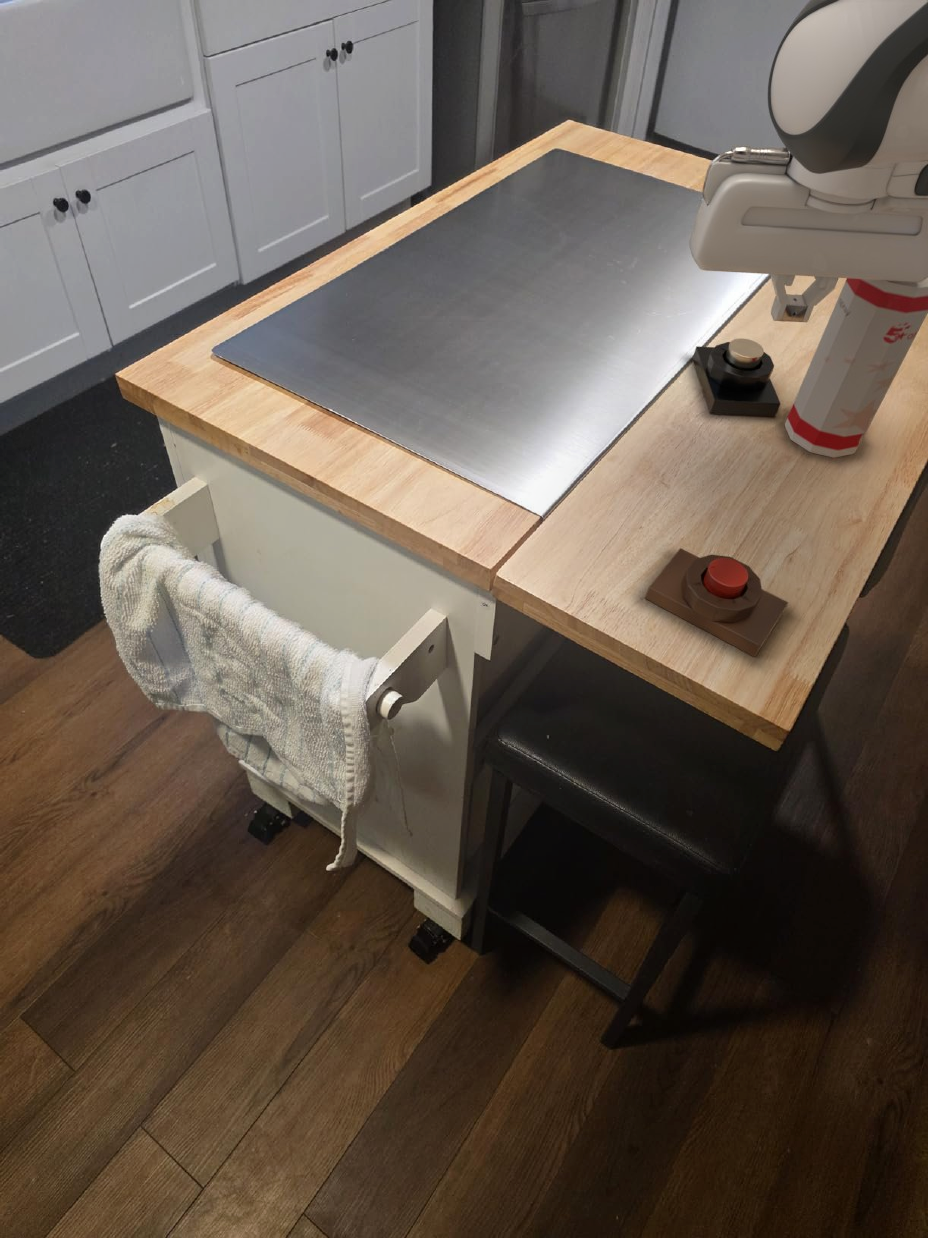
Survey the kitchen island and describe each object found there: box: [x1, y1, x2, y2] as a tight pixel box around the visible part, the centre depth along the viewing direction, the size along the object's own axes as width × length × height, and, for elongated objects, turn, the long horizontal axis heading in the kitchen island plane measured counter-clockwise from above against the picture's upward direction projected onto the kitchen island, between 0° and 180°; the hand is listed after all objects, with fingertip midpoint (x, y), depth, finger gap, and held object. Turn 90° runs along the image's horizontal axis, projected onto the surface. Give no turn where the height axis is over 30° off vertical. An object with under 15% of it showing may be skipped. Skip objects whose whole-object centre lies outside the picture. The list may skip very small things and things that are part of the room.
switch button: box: [724, 337, 765, 371], centre depth 91 cm, size 4×4×2 cm
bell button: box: [704, 558, 748, 599], centre depth 71 cm, size 3×3×2 cm
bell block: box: [644, 547, 789, 657], centre depth 72 cm, size 10×6×3 cm, turn 54°
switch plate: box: [691, 341, 781, 418], centre depth 93 cm, size 7×10×4 cm
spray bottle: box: [784, 277, 928, 459], centre depth 81 cm, size 8×8×25 cm
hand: (788, 318), depth 77 cm, fingers closed
